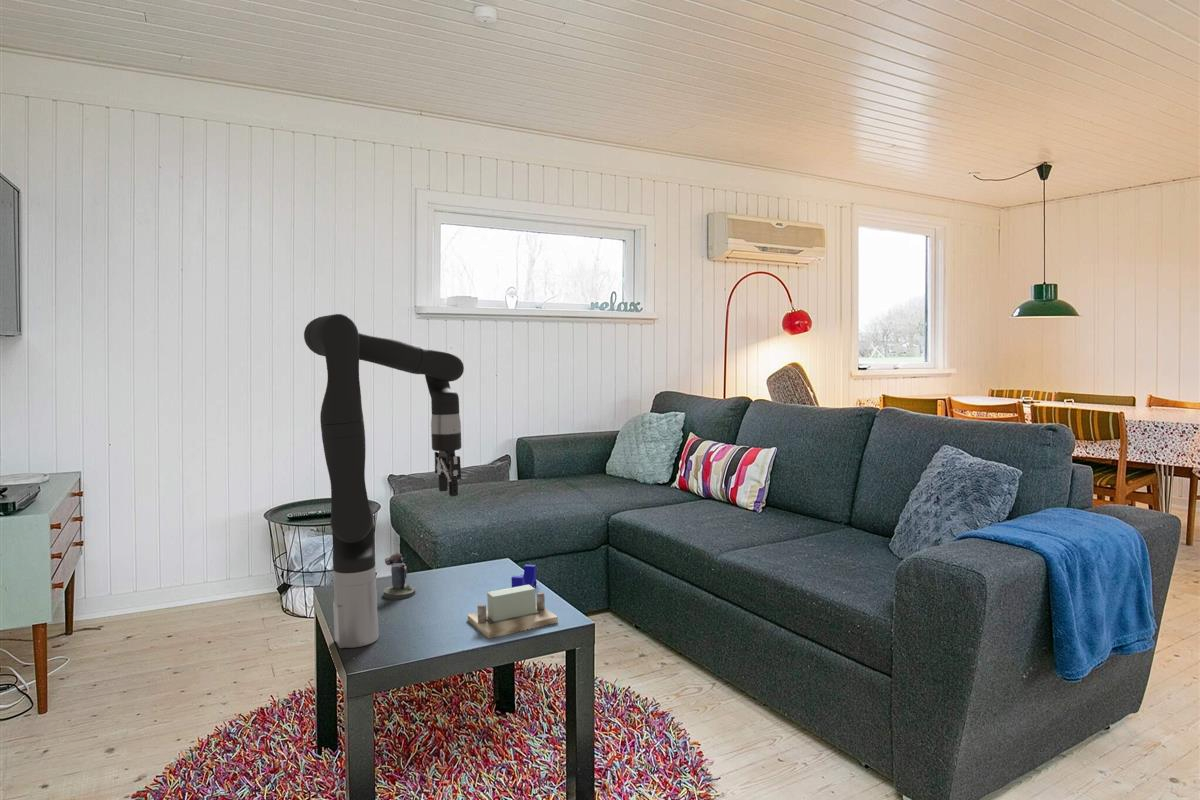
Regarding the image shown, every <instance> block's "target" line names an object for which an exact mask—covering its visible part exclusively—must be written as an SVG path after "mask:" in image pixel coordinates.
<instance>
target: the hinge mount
mask: <svg viewBox="0 0 1200 800" xmlns="http://www.w3.org/2000/svg"><path fill="white" fill-rule="evenodd" d="M545 596H546V595H545V592H537V593H535V597H536V613H532V614H527V615H522V616H517V617H512V618H508V619H503V620H498V621H493V620H492V619H490V618H489V617H488V609H487V605H486V604H483V603H481V604H478V605H477V606H476V607H477V612H472V613H468V614H467V622H469V623H470V624H471V625H472V626H473V627H475V628H476V629H477V631H479V632H480V633H481V634H482V635H484V637H486V638H487V639H492V638H498V637H502V636H506V635H511V634H515V633H519V631H520V632H524V631H528V630H532V629H531V628H533V629H535V628H534V627H537V628H540V627H539V626H541V627H545V626H544V625H546V626H549V625H548V624H550V625H553V624H554V623H555V624H558V623H559V617H558V616H557V615H556V614H554V613H553V612H552V611H550V610H548V609H547V608H546V606H545V604H546V603H545V601H546V600H545V598H546V597H545ZM527 629H528V630H527ZM523 630H524V631H523Z"/></svg>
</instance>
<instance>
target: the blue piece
mask: <svg viewBox="0 0 1200 800" xmlns="http://www.w3.org/2000/svg"><path fill="white" fill-rule="evenodd" d="M523 568H524V569H523V574H520V575H513V576H511V588H513V587H518V586H523V585H530V586H532V587H533V588H535V587H536V586H537V585H536V584H537V565H536V564H525V565H524V566H523ZM534 586H535V587H534Z"/></svg>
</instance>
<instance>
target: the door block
mask: <svg viewBox="0 0 1200 800" xmlns="http://www.w3.org/2000/svg"><path fill="white" fill-rule="evenodd" d="M486 597H487V598H486V599H487V600H486V601H487V610H488V617H489V618H490V619H492V620H493V621H498V620H503V619H508V618H512V617H517V616H522V615H527V614H532V613H536V603H537V598H536V587H534V588H533V587H532V586H530V585H523V586H518V587H513V588H512V587H507V588H504V589H496V590H492V591H487V593H486Z"/></svg>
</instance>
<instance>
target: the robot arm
mask: <svg viewBox="0 0 1200 800" xmlns="http://www.w3.org/2000/svg"><path fill="white" fill-rule="evenodd" d="M303 339H304V342H305V345H306V346H307V347H308V349H309V350H310V351H311V352H313V353H314V354H316V355H318V356H321V357H325V362H326V363H325V364H326V371H327V372H326V373H327V382H326V388H325V391H324V392H325V393H324V396H323V398H322V399H323V401H322V403H321V408H320V414H319V415H320V417H319V418H320V421H319V422H320V428H321V429H320V430H321V439H322V446H323V452H324V458H325V463H326V467H327V473H328V476H329V480H330V496H331V497H330V498H331V500H330V501H331V502H330V503H331V504H330V505H331V506H330V507H331V508H330V527H331V534H332V570H333V587H334V589H333V591H334V592H333V593H334V599H333V601H332V606H333V607H332V608H333V610H332V611H333V630H334V631H333V632H334V641H335V643H336V645H337V646H338V648H339V649H345V648H348V649H349V648H351V649H352V648H353V649H354V648H361V647H364V646H365V647H366V646H369V645H371V644H373V643H375V642H376V641H377V640H378V639H379V618H378V598H377V576H376V575H377V573H376V548H375V547H376V545H375V525H374V524H375V522H374V521H375V520H374V511H373V508H372V506H371V504H370V503H369V496H368V492H367V488H366V476H365V475H366V474H365V473H366V471H365V470H366V468H365V467H366V430H365V419H364V415H363V414H364V413H363V408H362V407H363V406H362V405H363V403H362V393H361V392H362V391H361V383H360V382H361V381H360V361H363V362H369V363H372V364H376V365H380V366H383V367H387V368H390V369H395V370H397V371H402V372H404V373H408V374H414V375H424V377H425V380H426V381H425V382H426V385H427V389H428V393H429V395H430V398H431V399H430V400H431V421H430V427H431V428H430V430H431V433H430V434H431V436H430V437H431V449H432V450H433V451H435V452H434V473H435V475H436V476H437V480H438V491H439V492H447V491H448V496H449V497H457V496H459V485H458V484H459V481H460V480H461V479H462V469H461V456H460V455H456V452H455V451H458V450H461V448H462V428H461V427H462V422H461V416H460V398H459V394H458V392H456V391H454V390H453V389H452V388H451V385H450V382H454V381H458V380H459V379H460V378H461V377H462V376H463V374H464V371H465V368H464V367H465V366H464V362H463V361H462V360H461V358H460V357H458V356H457V355H455V354H453V353H450V352H447V351H440V350H436V349H435V350H434V349H429V348H425V347H422V346H420V345H417V344H413V343H410V342H407V341H403V340H398V339H392V338H385V337H378V336H373V335H367V334H363V333H360V332H359V330H358V327H357V325H356V323H355V322H354V320H353V319H351V318H350V317H349V316H348V315H346V314H341V313H335V314H328V315H323V316H319V317H316V318H314V319H312V320H311V321H309V322H308V323H307V324H306V327H304V332H303Z"/></svg>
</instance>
